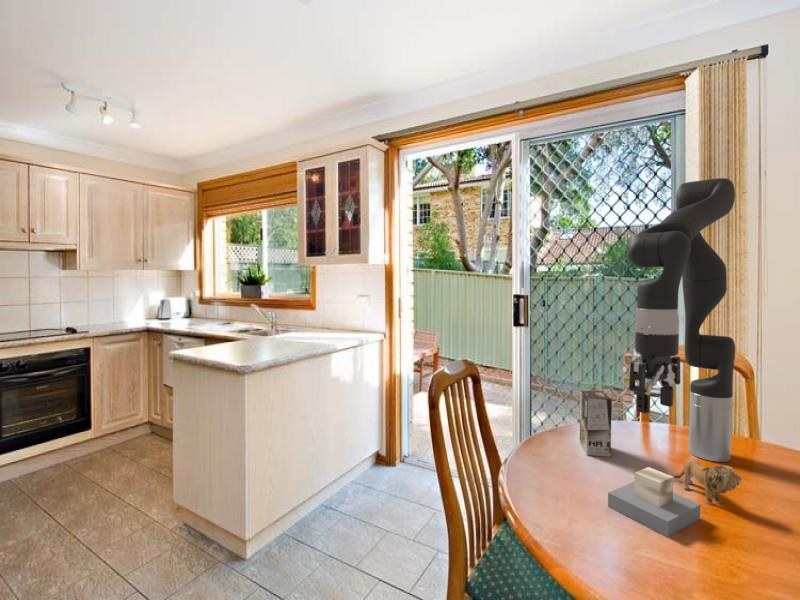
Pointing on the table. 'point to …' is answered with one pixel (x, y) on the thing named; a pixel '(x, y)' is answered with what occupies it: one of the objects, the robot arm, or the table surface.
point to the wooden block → (653, 486)
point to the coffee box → (595, 423)
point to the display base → (655, 510)
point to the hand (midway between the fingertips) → (654, 408)
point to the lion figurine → (710, 479)
